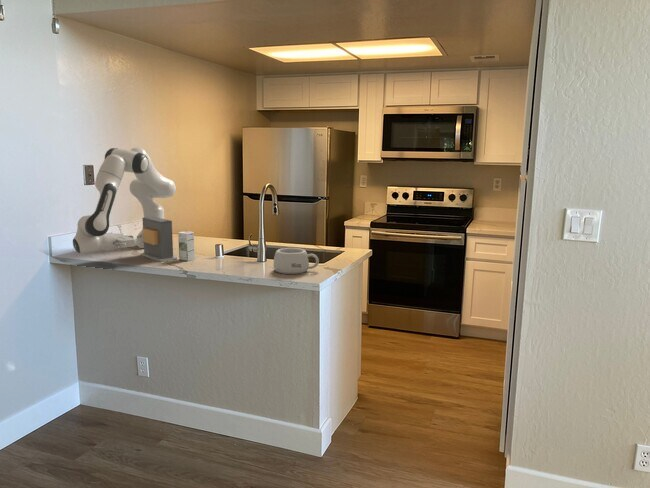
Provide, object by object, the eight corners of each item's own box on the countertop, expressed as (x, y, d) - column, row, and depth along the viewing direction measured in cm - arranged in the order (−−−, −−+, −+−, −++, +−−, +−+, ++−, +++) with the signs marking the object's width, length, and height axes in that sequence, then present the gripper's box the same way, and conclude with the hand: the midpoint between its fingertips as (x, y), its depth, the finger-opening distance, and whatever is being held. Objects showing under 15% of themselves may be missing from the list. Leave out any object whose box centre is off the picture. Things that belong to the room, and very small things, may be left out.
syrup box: (195, 259, 271) (194, 231, 268) (187, 261, 266) (186, 233, 263) (186, 258, 273) (185, 230, 271) (178, 260, 268) (177, 232, 266)
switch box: (140, 255, 279) (138, 217, 276) (156, 252, 285) (154, 216, 282) (160, 261, 264) (158, 222, 260) (176, 259, 270) (175, 220, 266)
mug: (271, 275, 241) (271, 253, 239) (275, 266, 257) (275, 246, 255) (318, 275, 241) (318, 254, 239) (318, 267, 257) (319, 247, 256)
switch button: (143, 241, 274) (142, 228, 272) (148, 241, 276) (147, 227, 275) (153, 244, 265) (153, 231, 264) (159, 244, 267) (158, 230, 266)
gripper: (117, 238, 248) (145, 235, 257) (100, 232, 262) (127, 229, 272) (118, 251, 249) (146, 247, 258) (101, 245, 263) (128, 241, 273)
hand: (136, 238), depth 265 cm, fingers open, 8 cm apart
